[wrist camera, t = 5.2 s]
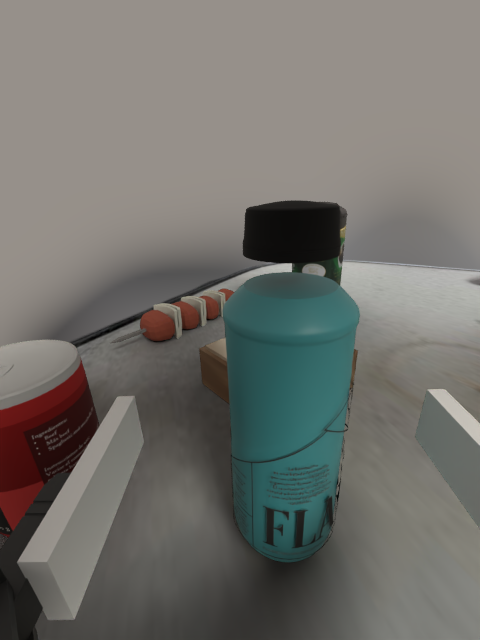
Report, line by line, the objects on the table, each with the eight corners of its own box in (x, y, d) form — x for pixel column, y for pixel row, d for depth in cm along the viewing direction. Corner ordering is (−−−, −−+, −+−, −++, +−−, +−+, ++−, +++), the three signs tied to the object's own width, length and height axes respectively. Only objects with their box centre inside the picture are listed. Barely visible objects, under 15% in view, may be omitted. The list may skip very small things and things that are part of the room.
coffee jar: (298, 303, 59) (302, 201, 51) (340, 308, 56) (351, 200, 48) (283, 322, 51) (287, 203, 43) (332, 329, 47) (344, 203, 40)
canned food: (4, 471, 25) (-52, 354, 20) (109, 438, 28) (80, 329, 23) (-26, 569, 18) (-117, 427, 14) (115, 511, 21) (77, 380, 17)
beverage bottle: (252, 602, 16) (241, 207, 8) (221, 494, 22) (198, 202, 14) (355, 559, 18) (426, 198, 10) (301, 469, 24) (320, 197, 16)
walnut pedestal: (274, 349, 42) (274, 316, 40) (352, 387, 33) (358, 347, 32) (202, 383, 35) (198, 345, 33) (278, 442, 26) (279, 395, 24)
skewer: (258, 281, 59) (117, 332, 38) (258, 304, 61) (123, 364, 40) (238, 278, 62) (97, 322, 41) (239, 299, 64) (103, 352, 43)
